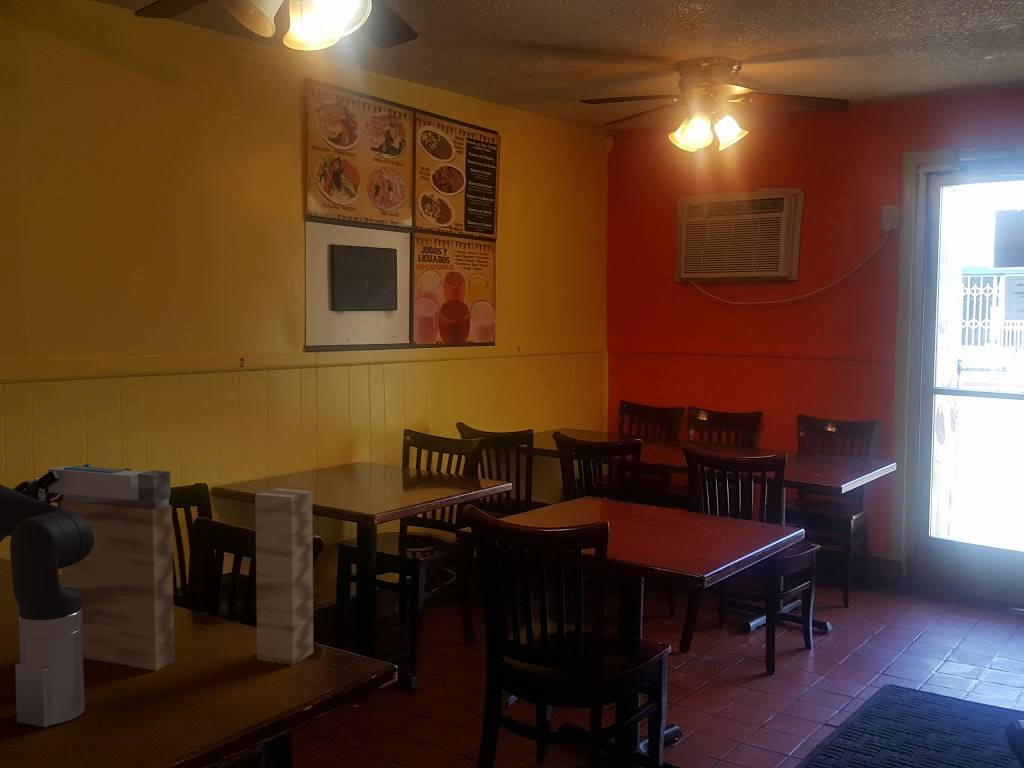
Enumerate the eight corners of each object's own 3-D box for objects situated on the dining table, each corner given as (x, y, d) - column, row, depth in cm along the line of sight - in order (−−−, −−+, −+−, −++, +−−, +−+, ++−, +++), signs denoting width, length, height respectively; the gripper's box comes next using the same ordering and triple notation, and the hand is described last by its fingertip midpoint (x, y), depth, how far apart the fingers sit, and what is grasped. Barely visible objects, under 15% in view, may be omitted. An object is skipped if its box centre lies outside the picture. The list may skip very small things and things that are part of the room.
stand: (293, 665, 176) (291, 497, 174) (257, 659, 179) (255, 494, 177) (313, 653, 183) (312, 491, 181) (278, 648, 186) (277, 488, 184)
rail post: (155, 670, 173) (152, 475, 171) (64, 655, 181) (59, 467, 179) (174, 661, 178) (171, 471, 176) (84, 646, 186) (79, 463, 183)
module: (148, 495, 177) (148, 470, 177) (131, 499, 173) (130, 474, 173) (67, 488, 184) (66, 464, 184) (48, 492, 180) (48, 467, 180)
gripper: (-20, 496, 180) (35, 459, 174) (41, 484, 193) (94, 449, 188) (-4, 531, 179) (51, 495, 174) (56, 517, 192) (109, 482, 187)
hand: (73, 471), depth 181 cm, fingers open, 8 cm apart
